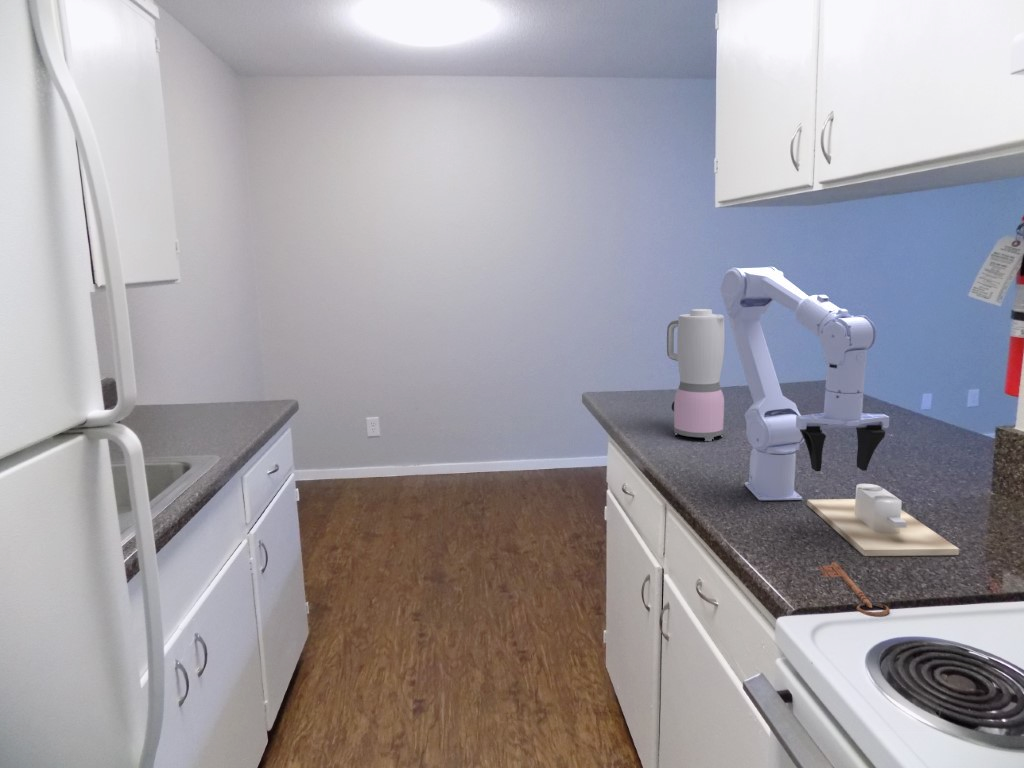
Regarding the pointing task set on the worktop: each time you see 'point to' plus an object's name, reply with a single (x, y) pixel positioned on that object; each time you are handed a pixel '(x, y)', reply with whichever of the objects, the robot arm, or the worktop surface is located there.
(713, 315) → the blender
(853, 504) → the pad
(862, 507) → the plug
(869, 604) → the key
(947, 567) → the worktop surface
